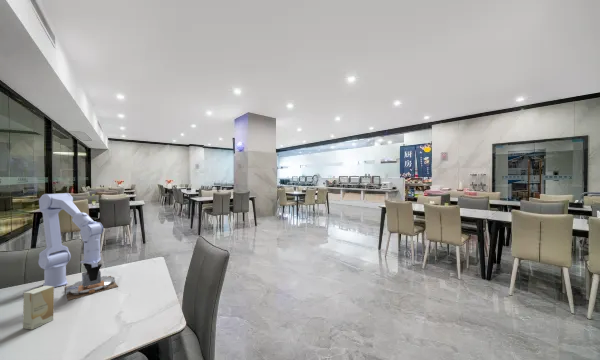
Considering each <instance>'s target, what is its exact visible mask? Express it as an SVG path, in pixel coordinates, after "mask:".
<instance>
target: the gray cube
mask: <svg viewBox="0 0 600 360" xmlns="http://www.w3.org/2000/svg"><path fill="white" fill-rule="evenodd" d="M86 272H87V271H86ZM82 273H83V272H82ZM82 273H81V281H82V285H83V287H86V286H90V285H94V284H98V283H101V277H102V275H101V274H102V273H101V270H100V269H99V272H98V276H97V280H94V281H90V279H89V274H88V272H87V273H83V274H82Z"/></svg>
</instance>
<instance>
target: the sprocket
mask: <svg viewBox="0 0 600 360" xmlns="http://www.w3.org/2000/svg"><path fill="white" fill-rule="evenodd" d="M83 273H87V271H84V272H82V273H81V275H82V274H83ZM113 283H116V277H115V276H111V277H108V276H107V275H103V276H102V275H101V283H98V284H94V285H90V286H86V287H83V285H82V280H81V281H77V282H74V284H73V283H72V284H71V285H72V286H70V285H67V286H68V287H67V288H66V289H65V294H66V295H67V294H74V295H79V294H83V293H92V292H95V291H97V290H100V289H103V288H104V289H105V288H107V287H109V285H111V284H113ZM66 290H67V291H66Z"/></svg>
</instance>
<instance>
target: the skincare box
mask: <svg viewBox="0 0 600 360" xmlns="http://www.w3.org/2000/svg"><path fill="white" fill-rule="evenodd" d="M54 289H55V287H54V286H40V287H37V288H33V289H31V290H28V291H25V292H23V304H22V305H23V308H22V309H23V311H22V312H23V314H22V328H23V329H25V330H34V329H36V328H39V327H41V326H43V325H45V324H48V323H49V322H51V321H53V320H54V301H55V299H54V297H55V295H54V294H55V293H54V292H55V290H54Z"/></svg>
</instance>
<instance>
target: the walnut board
mask: <svg viewBox="0 0 600 360" xmlns="http://www.w3.org/2000/svg"><path fill="white" fill-rule="evenodd" d="M107 277H112V275H108V276H107ZM72 285H73V284H71V285H67V286H66V285H65V286H64V288H65V292H66V291H67V290H66V288H67V287H68V286H72ZM115 288H119V286H118V284H117V283H116V282H115V283H113V284H111V285H109V287H107V288H105V289H104V288H103V289H100V290H97V291H95V292H92V293H83V294H79V295H74V294H66V299H67V301H72V300H74V299H78V298H81V297H82V298H83V297H85V296H90V295H94V294H96V293H97V294H98V293H101V292H103V291H108V290H111V289H115Z"/></svg>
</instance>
